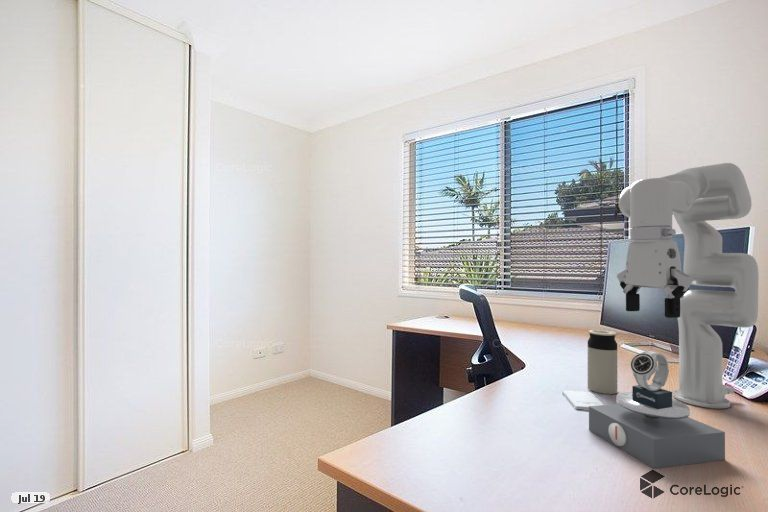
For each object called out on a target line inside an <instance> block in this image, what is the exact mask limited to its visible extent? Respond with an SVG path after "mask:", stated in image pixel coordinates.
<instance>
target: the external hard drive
mask: <svg viewBox="0 0 768 512" xmlns="http://www.w3.org/2000/svg"><path fill="white" fill-rule="evenodd" d="M561 392H562V396H564V398H565V397H566V398H567V399H566V398H565V399H566V400H567V401H568V402H569V404H572V405H573V406H574V407H575V408H574V407H573V406H572V405H571V406H572V407H573V408H574V409H575V410H576V409H585V410H584V411H589V406H599V405H605V404H604V403H603V402H602V401H601V400H600V399H599V398H597V396H595V395H594V394H593V392H589V391H588V392H587V391H577V390H562V391H561Z"/></svg>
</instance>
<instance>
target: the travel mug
mask: <svg viewBox="0 0 768 512" xmlns="http://www.w3.org/2000/svg"><path fill="white" fill-rule="evenodd" d="M587 331H588V333H589V337H588V340H587V388H588V390H590V391H592V392H593V393H597V392H598V394H602V393H603V394H604V395H614V394H618V343H617V341H616V336H617V333H616V332H615V331H611V330H604V329H590V330H587Z"/></svg>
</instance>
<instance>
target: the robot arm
mask: <svg viewBox="0 0 768 512" xmlns="http://www.w3.org/2000/svg"><path fill="white" fill-rule="evenodd" d="M747 184H748V183H747V180H746V178H745V175H744V173H743V171H742V170H741V169H740V167H739V166H737V165H736V164H734V163H732V162H723V163H716V164H711V165H710V164H709V165H704V166H703V165H702V166H695V167H689V168H686V169H682V170H680V171H677V172H675V173H672V174H668V175H665V176H661V177H651V178H645V179H639V180H636V181H634V182H632V184H631V185H629V186H627V187H625V188H624V189H623V190H622V191H621V193H620V194H619V199H618V207H619V210H620V212H621V213H622V215H624V217H627V218H629V219H630V220H629V221H630V231H629V232H630V242H629V243H628V247H627V253H626V263H625V270H623V271H621V272H619V273H618V274H617V276H616V277H617V280H618V282H619V286H620V287H621V289H622V293H624V294H625V311H626V312H639V311H640V310H641V309H640V308H641V307H640V306H641V305H640V303H641V302H640V300H641V299H640V293H638V292H639V290H640V289H641V288H651V289H661V290H662V291H663V293H664V294H665V295H666V296H667V297H665V298H664V317H665V318H667V319H674V318H677V324H678V341H679V342H678V345H679V346H678V359H679V360H678V366H679V367H678V374H679V375H678V376H679V378H678V379H679V381H678V383H679V386H678V387H679V389H676V390H673V391H672V397H673V398H674V399H675V400H677V401H679V402H682V403H684V404H685V403H686V404H688V405H693V406H697V407H701V408H707V409H720V410H721V409H727V408H730V407H731V401H730V400H729V399H728V398H726V397H725V395H731V394H732V395H733V394H734V393H735V389H734V388H733V387H731V386H724V385H723V381H724V380H723V342H722V341H723V340H722V338H721V336H720V335H719V334H718V333H717V332H716V331H715V330H714V329H713V328H712V326H724V327H730V328H731V327H733V328H741V329H742V328H744V329H746V328H751V327H753V326H755V324H756V323H757V321H758V316H759V278H760V277H759V266H758V263H757V260H756V259H755V257H754V256H752V255H751V254H748V253H745V252H744V253H743V252H723V236H722V234H721V233H720V232H719V231H718V230H717V228H715V227H714V226H712V225H711V224H710V223H708V222H707V221H709V222H710V221H720V220H721V221H722V220H723V221H725V220H736V219H741V218H744V217H746V216H748V214H749V213H750V212H751V209H752V198H751V193H750V190H749V187H748V185H747ZM673 217H674V220H675V221H676V224H677V225H678V226H679V228H680V231H681V232H682V235H683V238H684V251H683V271H682V262H681V255H680V251H679V247H678V243H677V241H673V236H675V235H676V233H677V231H676V229H674V228H673ZM691 285H692V286H702V287H716V288H717V287H719V288H720V287H722V288H732V289H734V291H725V290H724V291H721V290H719V291H718V290H712V289H711V290H707V289H706V290H705V289H690V286H691Z"/></svg>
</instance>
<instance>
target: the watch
mask: <svg viewBox="0 0 768 512" xmlns="http://www.w3.org/2000/svg"><path fill="white" fill-rule="evenodd" d="M630 369H631V371H632V376H633V377H634V379H635V382H636V383H637V385H632V389H631V390H632V391H631V392H632V397H633V401H636V402H639V403H642V404H644V405H647V406H650V407H653V408H656V409H663V408H668V407H672V399H673V391H671V390H667V389H664V388H663V387H664V386H665V385H666V382H667V380H668V377H669V372H670V369H669V362H668V359H667V357H666V356H665V355H664V354H663V353H661V352H656V351H651V350H645V351H641V352H640V353H638V354H636V355H634V356H633V358H632V359H631V361H630ZM652 375H653V378H652V383H651V384H649V383H648V381H649V380H650V379H651V376H652Z"/></svg>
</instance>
